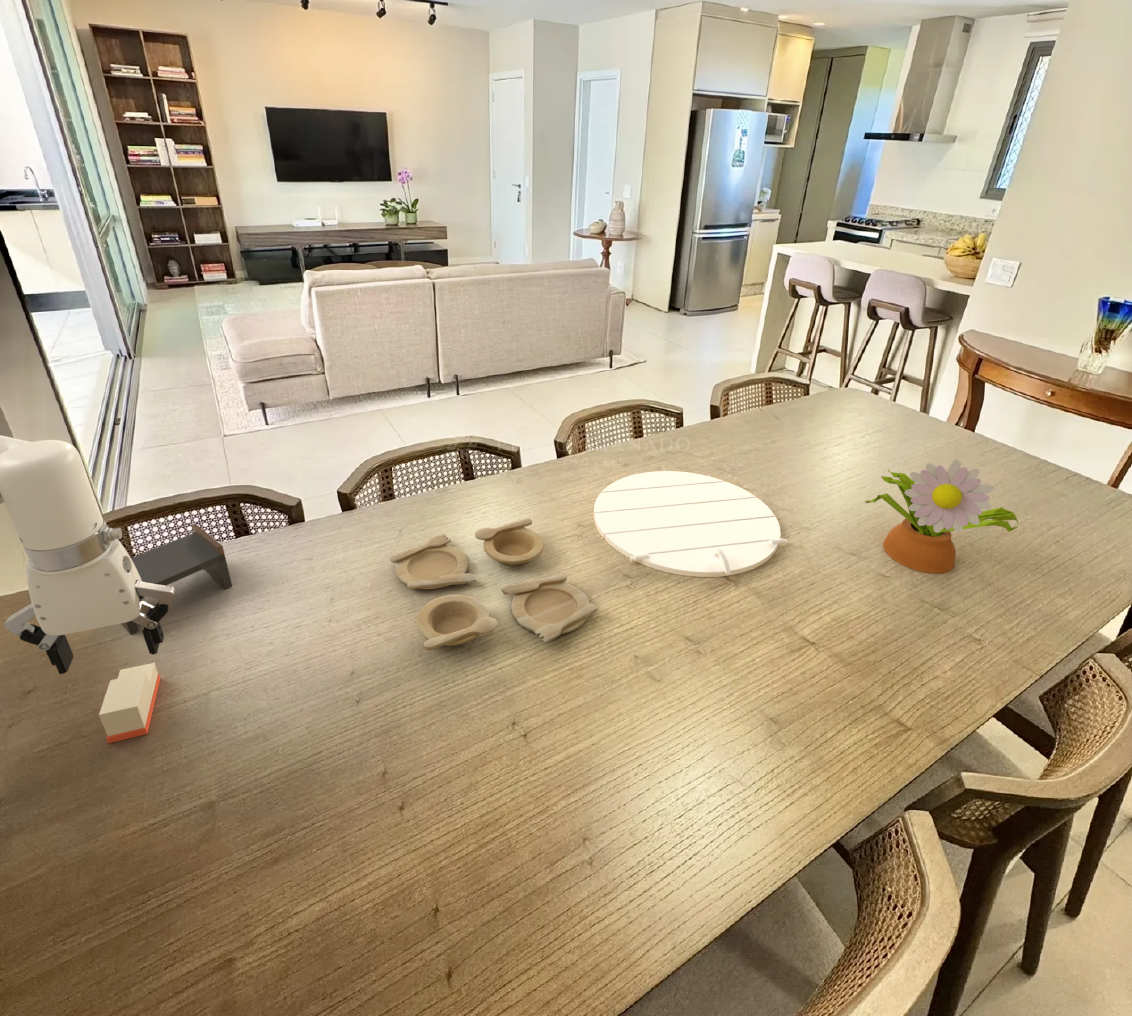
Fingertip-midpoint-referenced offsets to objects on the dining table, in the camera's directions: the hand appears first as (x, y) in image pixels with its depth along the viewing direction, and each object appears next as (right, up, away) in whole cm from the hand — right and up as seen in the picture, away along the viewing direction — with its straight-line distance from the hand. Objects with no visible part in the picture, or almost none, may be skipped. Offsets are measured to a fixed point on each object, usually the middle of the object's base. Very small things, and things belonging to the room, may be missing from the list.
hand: (112, 656), depth 81 cm
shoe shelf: (-10, +1, +27) cm, 29 cm away
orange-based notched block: (-1, -9, +7) cm, 12 cm away
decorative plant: (+130, +5, +48) cm, 139 cm away
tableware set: (+44, +1, +32) cm, 54 cm away
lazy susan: (+83, +10, +55) cm, 100 cm away
